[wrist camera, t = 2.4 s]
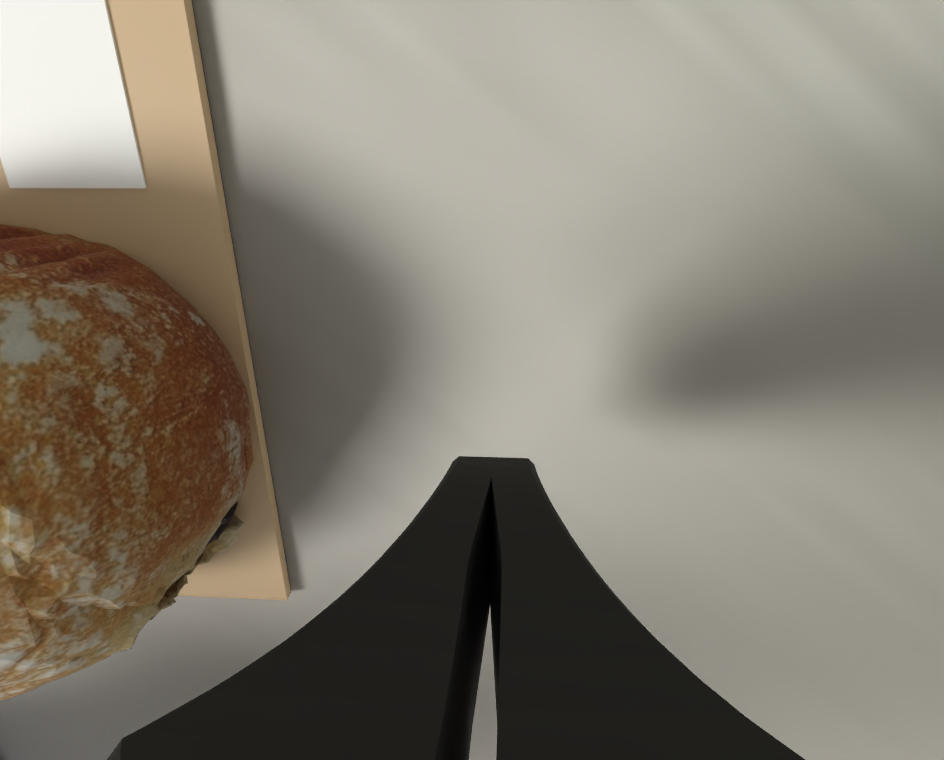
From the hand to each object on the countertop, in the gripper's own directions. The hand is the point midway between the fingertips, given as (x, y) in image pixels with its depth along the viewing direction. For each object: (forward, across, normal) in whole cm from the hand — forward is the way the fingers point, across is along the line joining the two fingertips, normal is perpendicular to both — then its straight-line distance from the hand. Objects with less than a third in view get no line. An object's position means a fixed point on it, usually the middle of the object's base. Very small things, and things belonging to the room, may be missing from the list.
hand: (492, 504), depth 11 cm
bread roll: (+3, +11, 0) cm, 11 cm away
